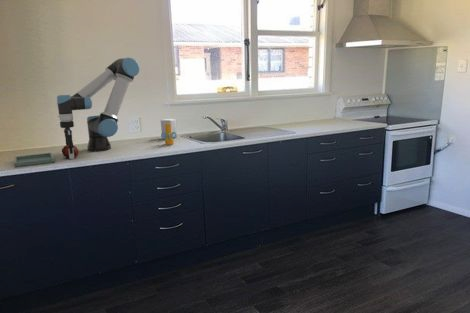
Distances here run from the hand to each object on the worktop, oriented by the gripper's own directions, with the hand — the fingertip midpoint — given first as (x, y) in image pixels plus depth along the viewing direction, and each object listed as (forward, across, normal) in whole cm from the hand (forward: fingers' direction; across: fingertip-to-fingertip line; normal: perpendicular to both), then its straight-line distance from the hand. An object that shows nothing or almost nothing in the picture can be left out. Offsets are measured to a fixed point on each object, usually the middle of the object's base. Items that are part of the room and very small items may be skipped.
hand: (71, 157), depth 227 cm
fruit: (+1, 0, 0) cm, 1 cm away
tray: (0, -2, -20) cm, 20 cm away
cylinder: (+1, -6, +66) cm, 66 cm away
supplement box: (+1, -30, +75) cm, 81 cm away
